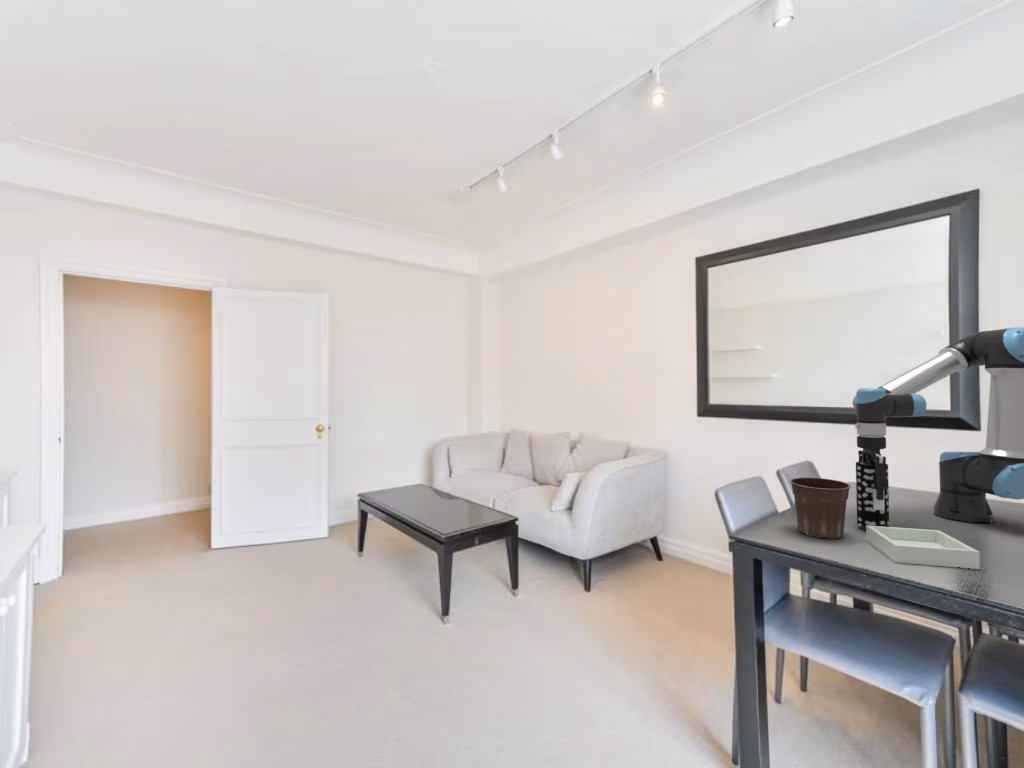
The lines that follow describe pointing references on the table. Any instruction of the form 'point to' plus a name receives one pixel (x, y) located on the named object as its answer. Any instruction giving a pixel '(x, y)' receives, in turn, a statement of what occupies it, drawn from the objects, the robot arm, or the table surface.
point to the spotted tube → (869, 498)
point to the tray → (922, 547)
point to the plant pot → (820, 506)
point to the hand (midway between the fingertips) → (872, 505)
